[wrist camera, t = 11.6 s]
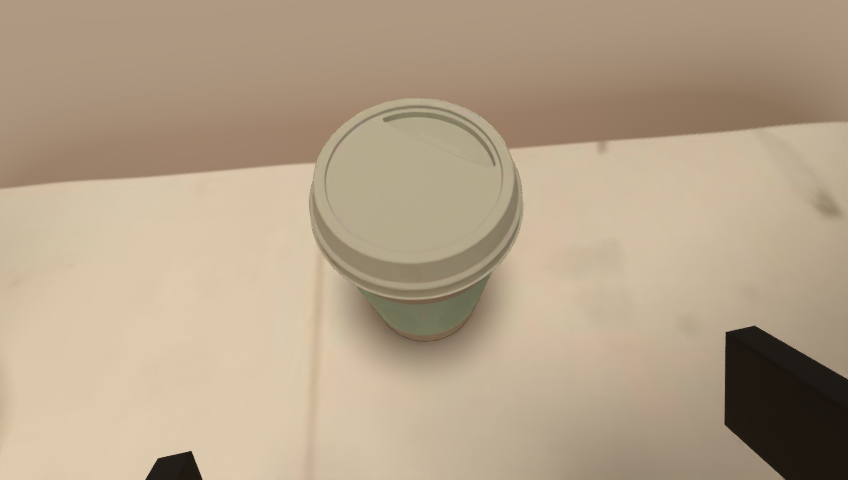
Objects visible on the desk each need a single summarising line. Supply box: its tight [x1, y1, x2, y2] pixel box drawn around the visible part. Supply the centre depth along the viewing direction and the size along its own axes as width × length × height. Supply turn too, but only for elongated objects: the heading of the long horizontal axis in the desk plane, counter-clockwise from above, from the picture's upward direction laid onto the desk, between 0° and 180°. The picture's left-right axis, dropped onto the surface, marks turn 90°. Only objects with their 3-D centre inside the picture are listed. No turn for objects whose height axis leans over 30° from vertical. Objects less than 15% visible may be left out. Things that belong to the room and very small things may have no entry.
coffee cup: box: [309, 98, 523, 341], centre depth 23 cm, size 8×9×12 cm
